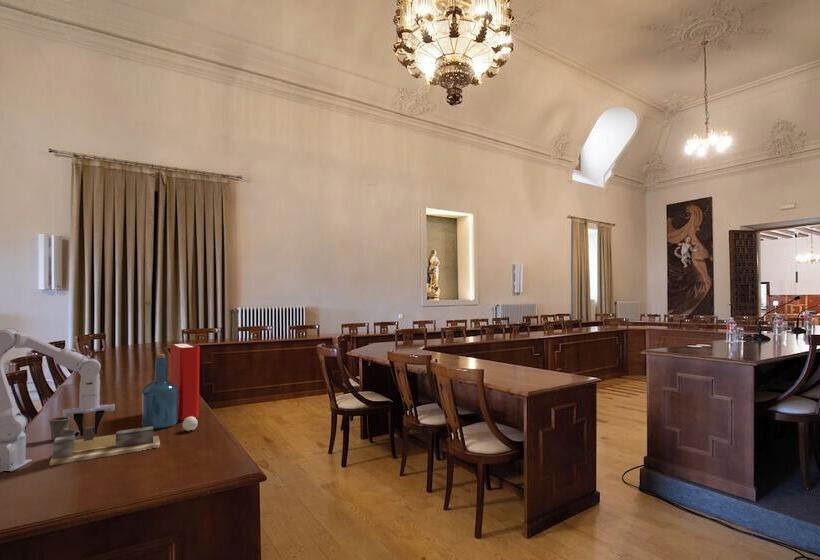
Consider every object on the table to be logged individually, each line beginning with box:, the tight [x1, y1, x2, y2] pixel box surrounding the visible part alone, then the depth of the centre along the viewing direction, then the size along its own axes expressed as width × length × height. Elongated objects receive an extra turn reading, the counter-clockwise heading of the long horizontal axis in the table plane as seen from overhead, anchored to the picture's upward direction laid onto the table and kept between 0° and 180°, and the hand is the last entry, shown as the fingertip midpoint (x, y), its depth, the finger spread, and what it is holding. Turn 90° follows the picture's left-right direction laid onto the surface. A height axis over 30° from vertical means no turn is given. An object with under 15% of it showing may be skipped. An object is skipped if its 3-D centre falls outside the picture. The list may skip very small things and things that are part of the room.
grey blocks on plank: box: [49, 426, 161, 467], centre depth 156 cm, size 31×12×6 cm, turn 122°
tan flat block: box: [73, 425, 116, 452], centre depth 154 cm, size 20×3×7 cm, turn 122°
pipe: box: [48, 416, 81, 441], centre depth 168 cm, size 6×13×8 cm, turn 76°
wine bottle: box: [141, 353, 179, 430], centre depth 187 cm, size 14×13×30 cm
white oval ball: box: [182, 416, 201, 432], centre depth 179 cm, size 8×6×6 cm
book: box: [169, 341, 201, 421], centre depth 206 cm, size 27×8×32 cm, turn 37°
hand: (88, 434), depth 153 cm, fingers open, 3 cm apart
